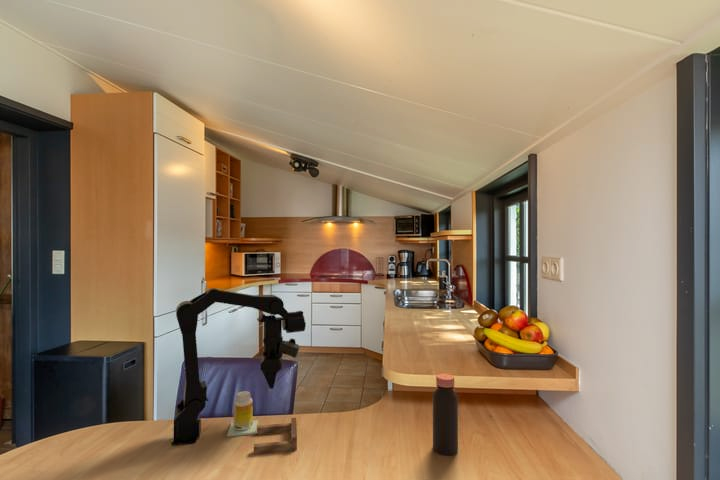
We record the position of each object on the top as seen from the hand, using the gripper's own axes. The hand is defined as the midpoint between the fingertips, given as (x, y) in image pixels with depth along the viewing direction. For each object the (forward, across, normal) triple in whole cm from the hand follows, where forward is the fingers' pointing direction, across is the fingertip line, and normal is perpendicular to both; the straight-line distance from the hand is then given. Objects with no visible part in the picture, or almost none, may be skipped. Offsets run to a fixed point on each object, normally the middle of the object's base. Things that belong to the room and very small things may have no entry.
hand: (272, 383), depth 119 cm
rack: (+12, -13, -1) cm, 18 cm away
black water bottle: (+12, -26, -48) cm, 56 cm away
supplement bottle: (+12, -4, +8) cm, 15 cm away
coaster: (+12, -4, +8) cm, 15 cm away
